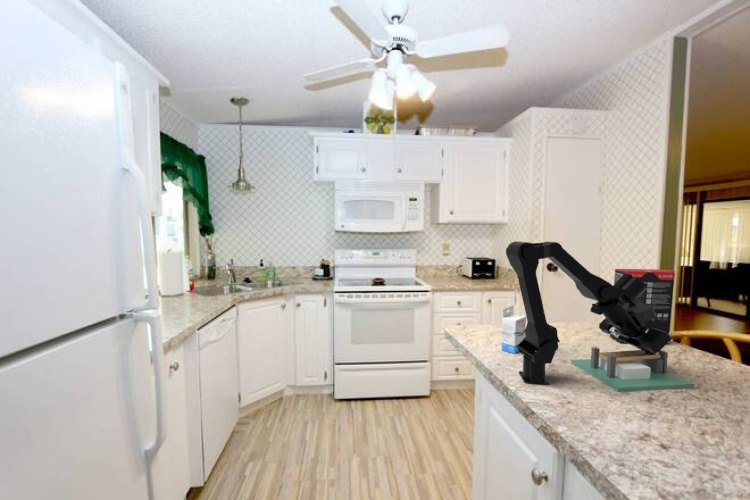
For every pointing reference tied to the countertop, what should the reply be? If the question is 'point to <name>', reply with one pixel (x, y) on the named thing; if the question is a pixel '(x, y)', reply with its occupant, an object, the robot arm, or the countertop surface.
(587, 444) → the countertop surface
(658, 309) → the graphics card box
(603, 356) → the strip
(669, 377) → the socket board
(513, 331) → the ink box
